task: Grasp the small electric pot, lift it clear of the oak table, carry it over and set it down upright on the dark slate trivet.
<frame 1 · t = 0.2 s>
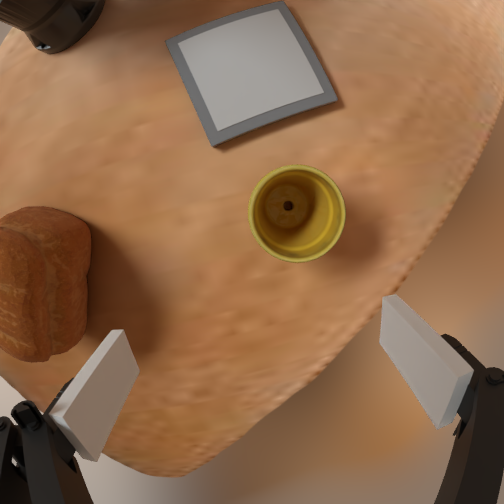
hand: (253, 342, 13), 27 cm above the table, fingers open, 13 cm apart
bread: (57, 268, 40), on the table
plant pot: (286, 204, 38), on the table
trivet: (249, 66, 33), on the table
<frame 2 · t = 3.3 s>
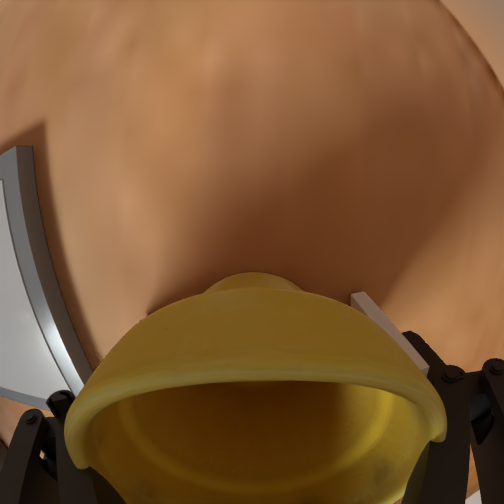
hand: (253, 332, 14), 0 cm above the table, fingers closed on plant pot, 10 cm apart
plant pot: (253, 327, 15), on the table, touching gripper
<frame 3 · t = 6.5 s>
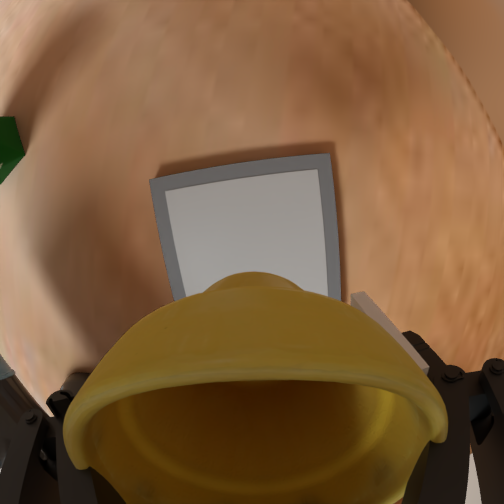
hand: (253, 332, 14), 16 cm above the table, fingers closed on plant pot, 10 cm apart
milk carton: (7, 150, 26), on the table
plant pot: (252, 327, 14), point 16 cm above the table, touching gripper
trivet: (251, 249, 30), on the table
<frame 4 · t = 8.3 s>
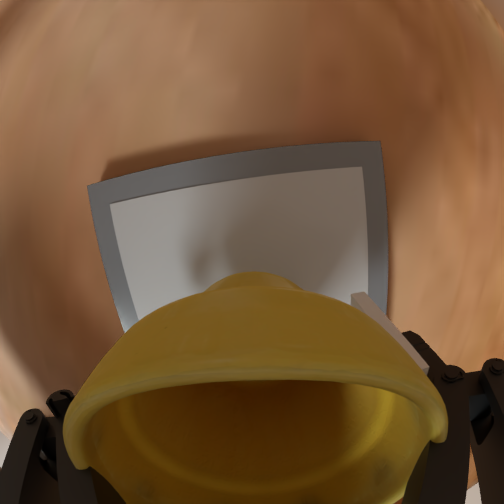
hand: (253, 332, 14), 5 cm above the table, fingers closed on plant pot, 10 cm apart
plant pot: (252, 327, 14), point 4 cm above the table, touching gripper
trivet: (250, 295, 19), on the table
when the fingers open (3 cm above the table, at t = 9.8 s): plant pot stays where it is, resting on trivet.
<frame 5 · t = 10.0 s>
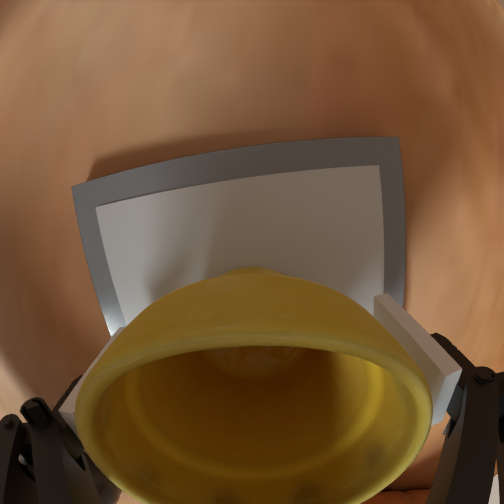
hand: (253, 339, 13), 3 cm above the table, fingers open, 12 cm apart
plant pot: (251, 320, 15), point 1 cm above the table, touching trivet
trivet: (253, 308, 17), on the table
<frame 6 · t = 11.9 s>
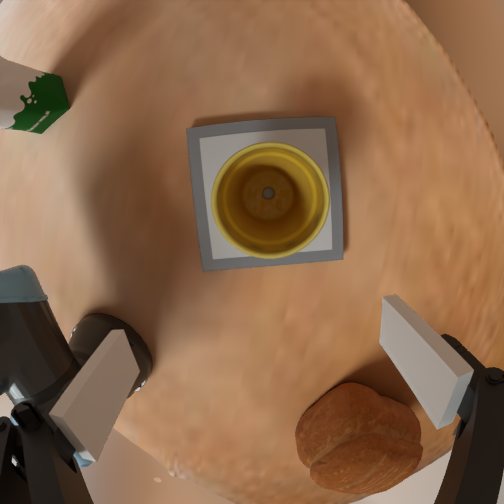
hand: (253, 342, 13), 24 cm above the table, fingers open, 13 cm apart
bread: (353, 415, 46), on the table
milk carton: (51, 104, 31), on the table
plant pot: (267, 193, 33), point 1 cm above the table, touching trivet
trivet: (267, 192, 35), on the table
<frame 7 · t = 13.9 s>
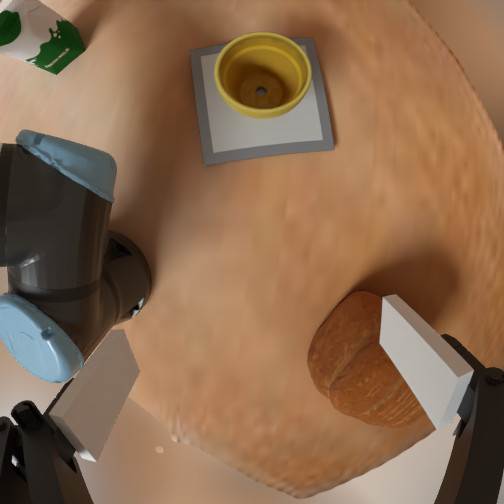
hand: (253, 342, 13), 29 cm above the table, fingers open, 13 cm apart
bread: (367, 341, 47), on the table
milk carton: (67, 51, 32), on the table
plant pot: (260, 94, 34), point 1 cm above the table, touching trivet
trivet: (260, 96, 36), on the table
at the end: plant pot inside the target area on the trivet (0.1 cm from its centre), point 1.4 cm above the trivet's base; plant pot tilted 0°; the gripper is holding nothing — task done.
